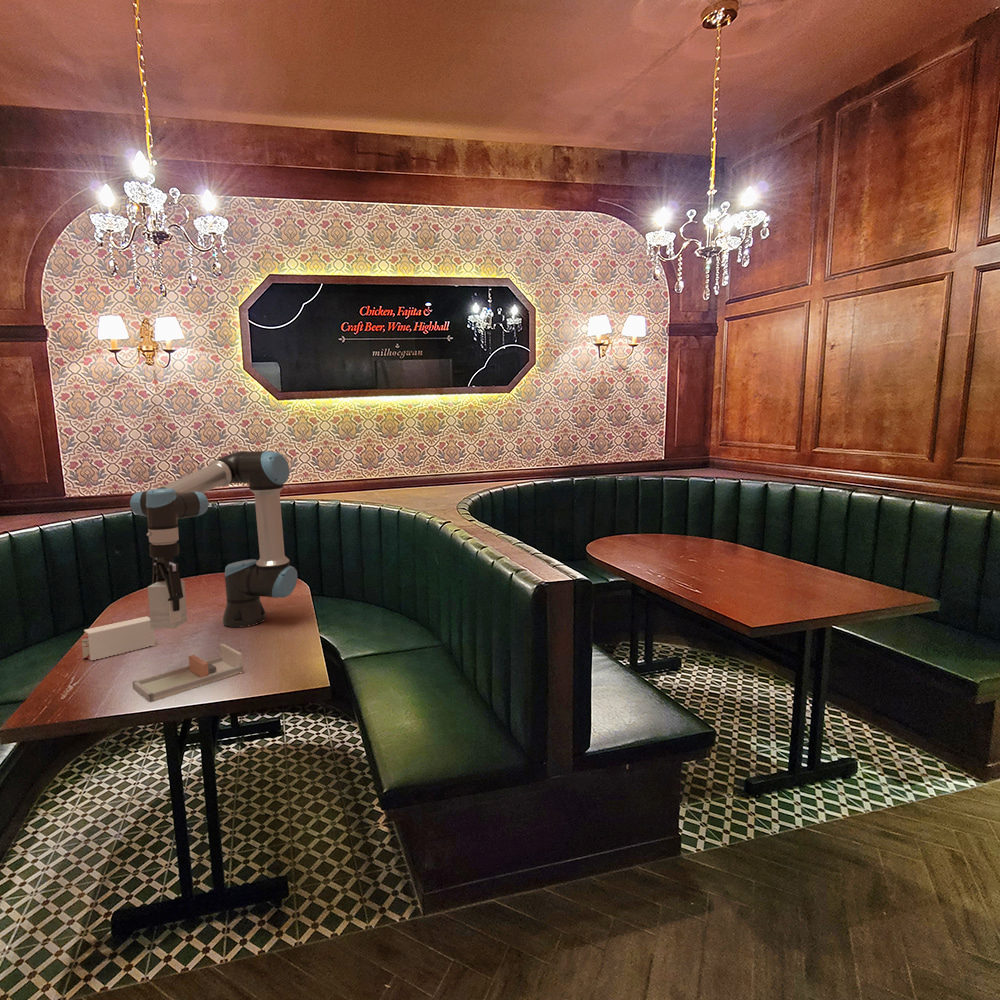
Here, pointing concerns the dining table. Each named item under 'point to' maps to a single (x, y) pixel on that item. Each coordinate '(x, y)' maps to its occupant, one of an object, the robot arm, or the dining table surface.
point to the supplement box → (164, 606)
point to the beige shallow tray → (189, 676)
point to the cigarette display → (118, 638)
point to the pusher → (200, 666)
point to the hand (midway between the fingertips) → (168, 617)
